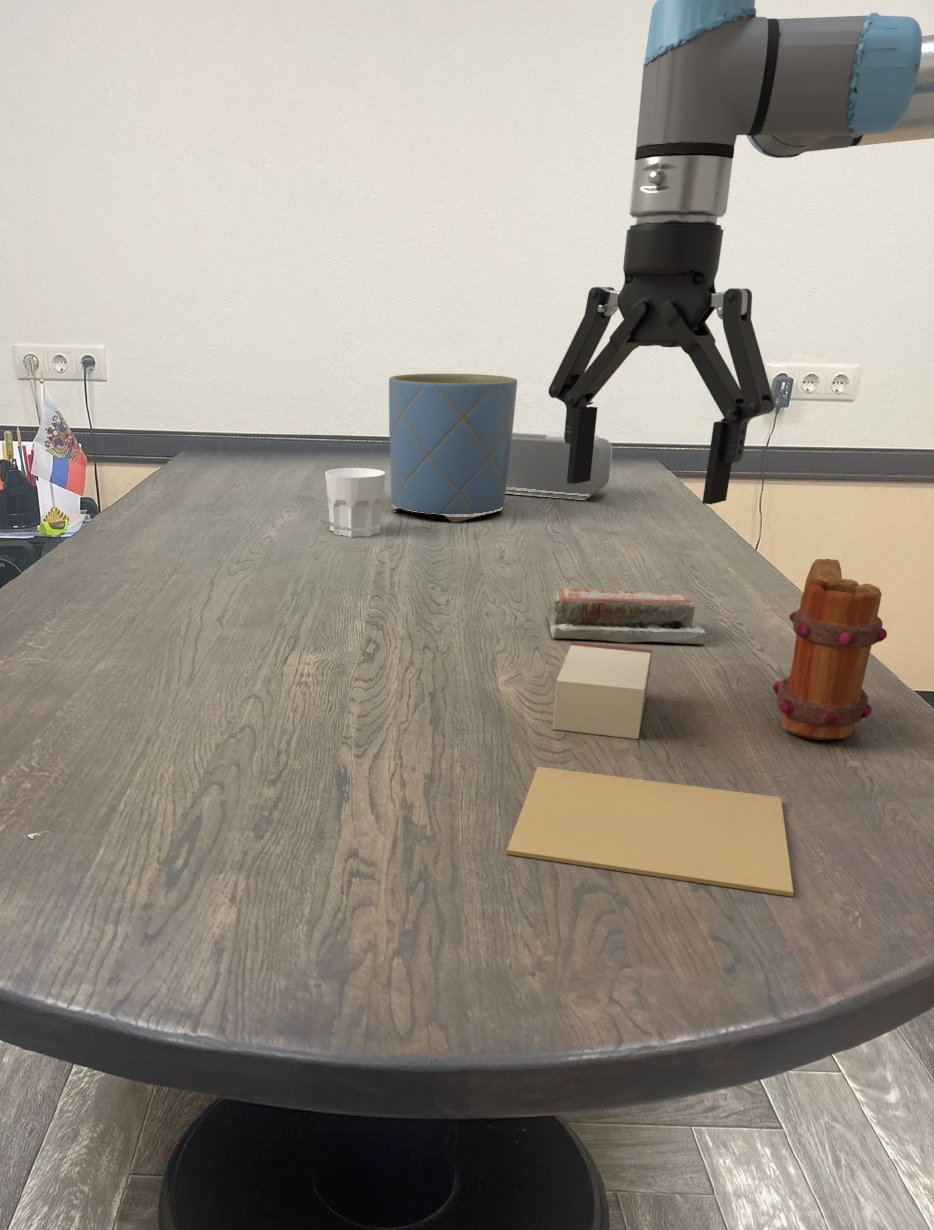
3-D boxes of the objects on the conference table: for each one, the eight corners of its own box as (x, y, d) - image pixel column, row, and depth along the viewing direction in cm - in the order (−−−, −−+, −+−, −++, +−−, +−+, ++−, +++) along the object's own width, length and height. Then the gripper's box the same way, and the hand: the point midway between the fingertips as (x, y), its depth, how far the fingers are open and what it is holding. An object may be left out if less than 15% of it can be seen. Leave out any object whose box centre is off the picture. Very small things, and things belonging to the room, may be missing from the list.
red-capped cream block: (646, 696, 111) (652, 649, 109) (638, 740, 100) (645, 688, 98) (566, 688, 113) (571, 641, 111) (551, 730, 103) (556, 679, 100)
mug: (872, 754, 98) (909, 592, 91) (778, 747, 99) (808, 587, 93) (836, 699, 111) (866, 554, 104) (753, 694, 112) (778, 550, 106)
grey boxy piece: (553, 600, 126) (549, 580, 135) (550, 640, 128) (546, 617, 137) (711, 606, 125) (696, 584, 134) (705, 646, 127) (690, 622, 136)
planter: (361, 512, 200) (362, 378, 190) (434, 496, 215) (439, 371, 206) (461, 529, 186) (469, 386, 176) (531, 511, 202) (541, 378, 192)
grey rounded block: (607, 495, 218) (614, 434, 213) (597, 502, 210) (604, 439, 205) (478, 485, 228) (482, 426, 223) (464, 492, 220) (467, 431, 215)
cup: (391, 536, 180) (392, 476, 176) (333, 539, 178) (333, 478, 174) (375, 525, 189) (376, 467, 185) (319, 527, 187) (319, 469, 183)
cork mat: (780, 801, 89) (781, 797, 88) (792, 897, 75) (793, 892, 75) (537, 770, 94) (537, 766, 94) (506, 854, 80) (506, 849, 80)
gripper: (521, 224, 92) (504, 478, 101) (807, 214, 76) (757, 517, 85) (572, 228, 97) (551, 470, 106) (850, 219, 81) (798, 505, 90)
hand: (643, 492), depth 95 cm, fingers open, 13 cm apart
